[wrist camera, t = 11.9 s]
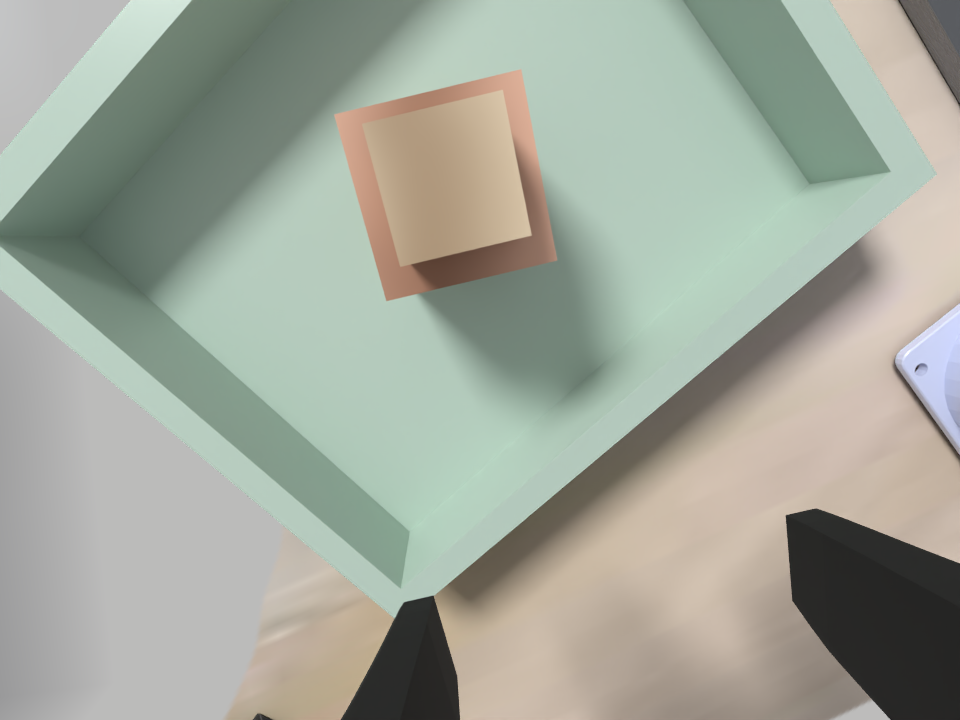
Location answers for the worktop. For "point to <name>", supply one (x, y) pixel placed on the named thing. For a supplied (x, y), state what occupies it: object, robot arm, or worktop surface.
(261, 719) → the ammunition clip
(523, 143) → the square capped bottle
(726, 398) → the worktop surface
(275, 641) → the worktop surface
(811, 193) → the bin
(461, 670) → the worktop surface
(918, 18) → the base
